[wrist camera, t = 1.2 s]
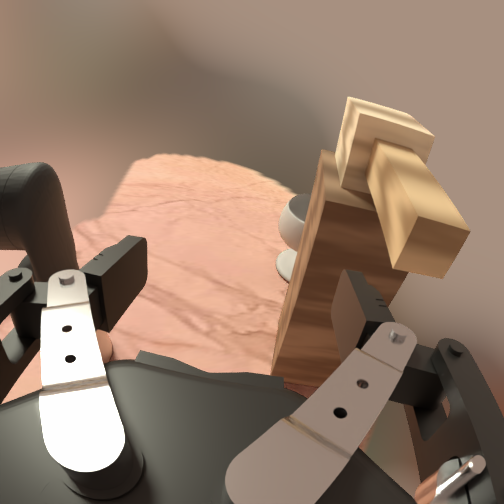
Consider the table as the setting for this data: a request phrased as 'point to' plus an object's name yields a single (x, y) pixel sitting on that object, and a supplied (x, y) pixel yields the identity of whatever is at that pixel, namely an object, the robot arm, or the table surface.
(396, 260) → the mallet
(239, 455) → the robot arm
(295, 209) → the chalice
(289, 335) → the herringbone wood pillar
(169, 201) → the table surface
